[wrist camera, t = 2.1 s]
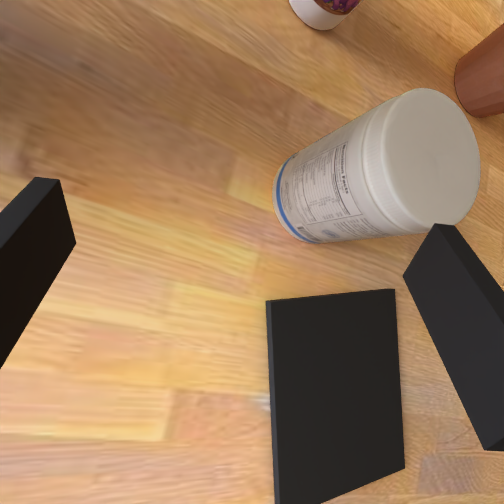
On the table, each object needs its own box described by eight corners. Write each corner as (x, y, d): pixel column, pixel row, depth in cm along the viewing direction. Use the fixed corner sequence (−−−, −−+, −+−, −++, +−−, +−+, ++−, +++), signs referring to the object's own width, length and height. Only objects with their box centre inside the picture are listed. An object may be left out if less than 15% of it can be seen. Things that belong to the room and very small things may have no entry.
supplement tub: (333, 148, 37) (469, 79, 24) (353, 232, 38) (496, 213, 24) (256, 160, 33) (367, 87, 20) (280, 255, 33) (403, 247, 20)
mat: (265, 300, 33) (270, 301, 32) (388, 288, 39) (395, 288, 38) (275, 513, 32) (280, 520, 31) (397, 463, 39) (405, 468, 38)
